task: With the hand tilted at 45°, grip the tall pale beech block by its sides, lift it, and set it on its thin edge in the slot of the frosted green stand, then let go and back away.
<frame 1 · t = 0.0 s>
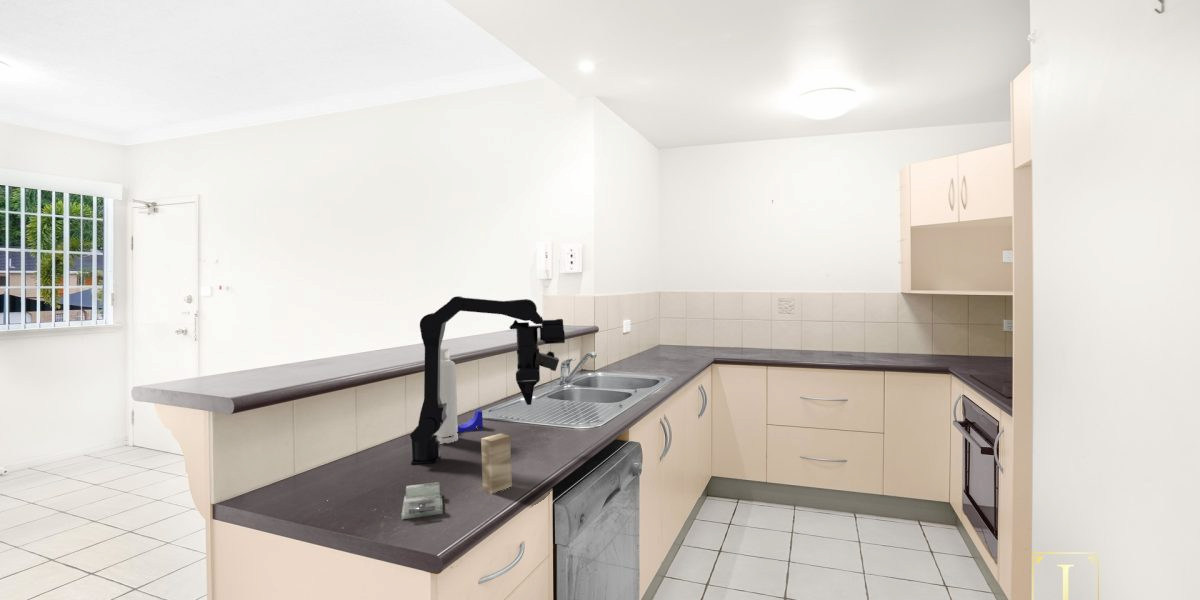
hand: (529, 401, 153), 15 cm above the counter, tool pointing down, fingers open, 9 cm apart
beech block: (497, 488, 128), on the counter
frosted green stand: (422, 506, 119), on the counter
bottle: (444, 440, 169), on the counter
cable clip: (462, 431, 181), on the counter
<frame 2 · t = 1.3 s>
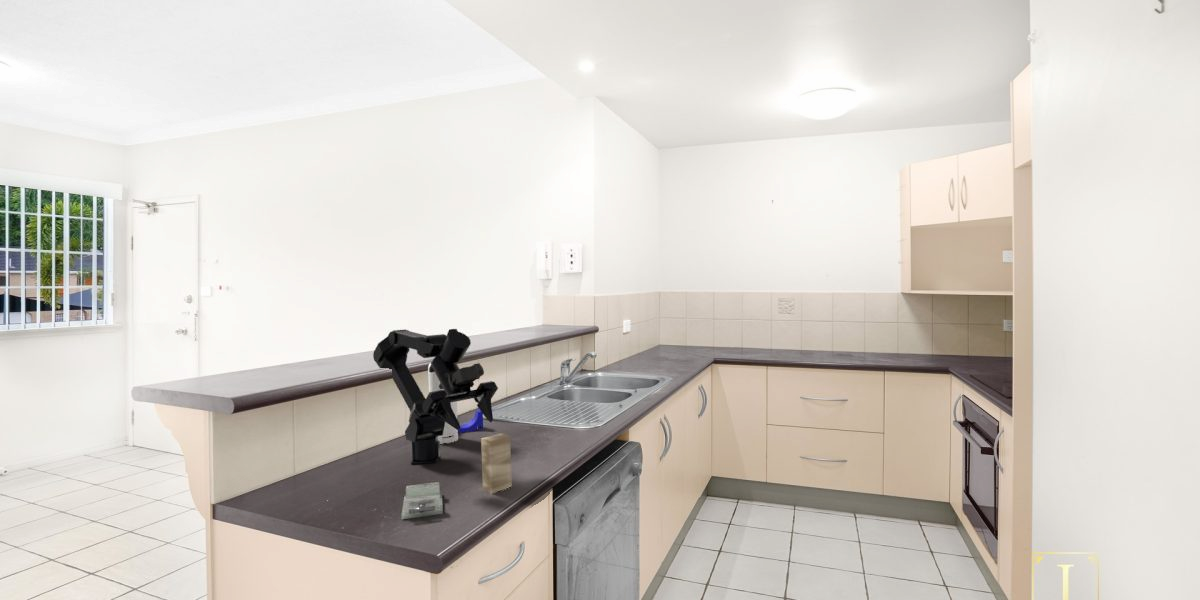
hand: (475, 424, 133), 13 cm above the counter, tool tilted 45°, fingers open, 9 cm apart
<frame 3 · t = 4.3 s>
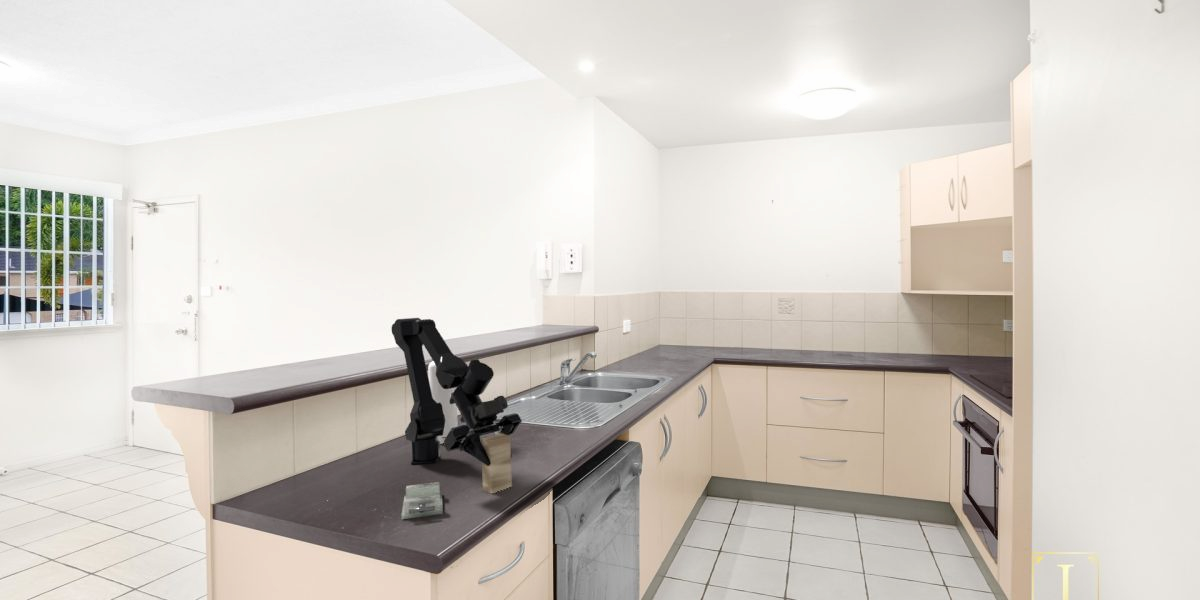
hand: (500, 461, 127), 7 cm above the counter, tool tilted 45°, fingers closed on beech block, 5 cm apart
beech block: (497, 488, 128), on the counter, touching gripper
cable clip: (464, 432, 179), on the counter
everything else where it was.
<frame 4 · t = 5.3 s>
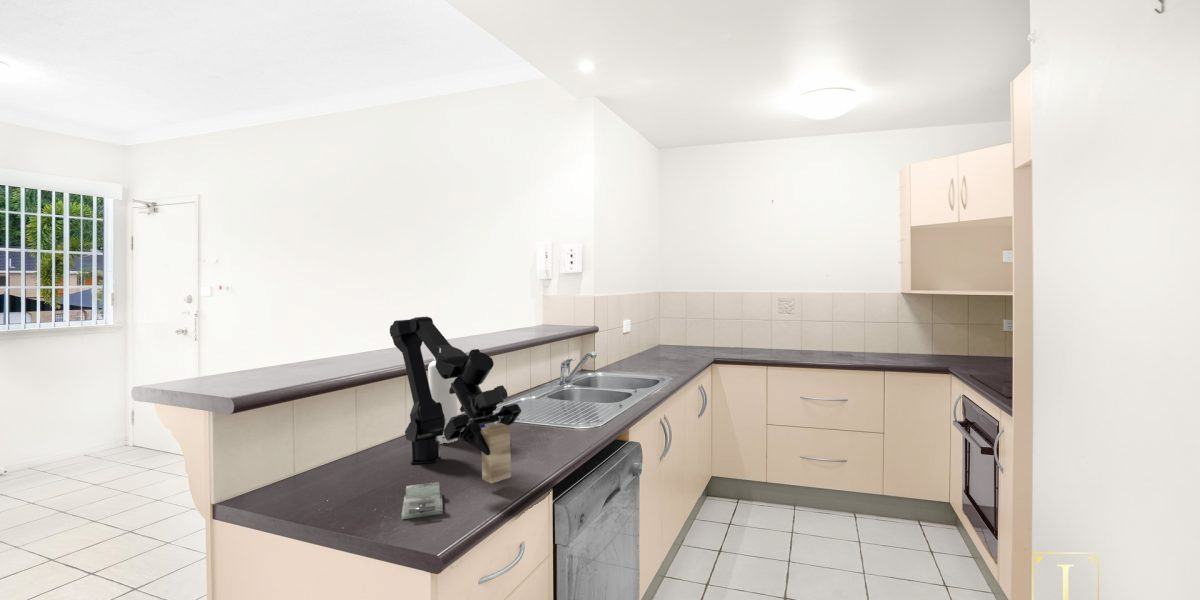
hand: (499, 451, 127), 9 cm above the counter, tool tilted 45°, fingers closed on beech block, 5 cm apart
beech block: (496, 478, 128), point 2 cm above the counter, touching gripper
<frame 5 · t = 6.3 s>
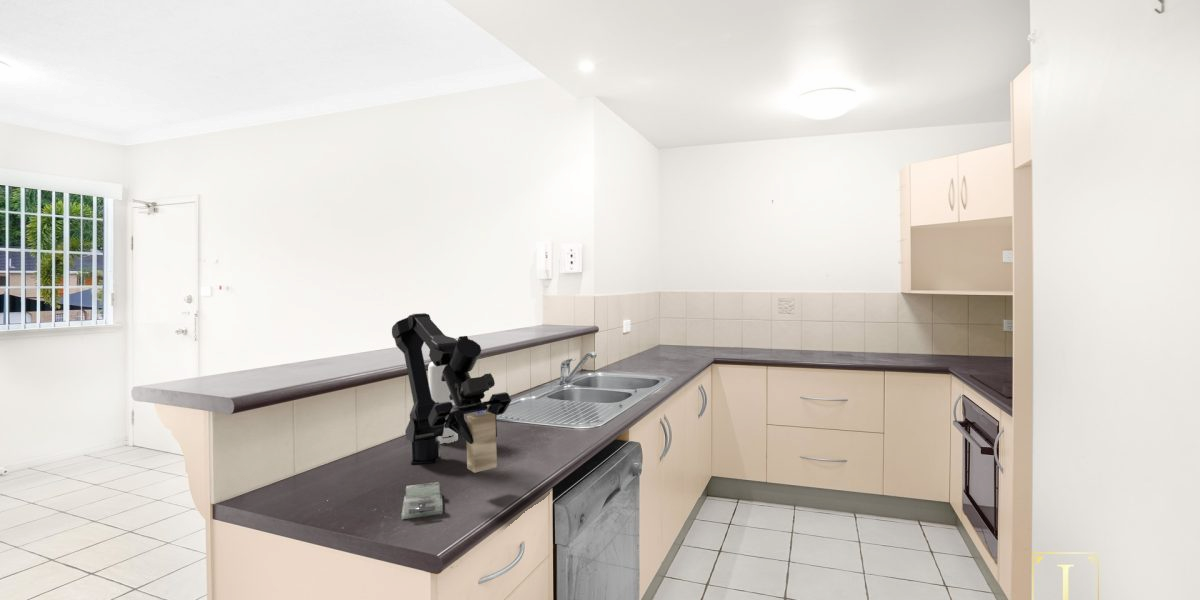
hand: (484, 440, 124), 12 cm above the counter, tool tilted 45°, fingers closed on beech block, 5 cm apart
beech block: (482, 467, 125), point 6 cm above the counter, touching gripper
when the fingers open (8 cm above the counter, at t = 8.6 s): beech block drops 1 cm, resting on frosted green stand.
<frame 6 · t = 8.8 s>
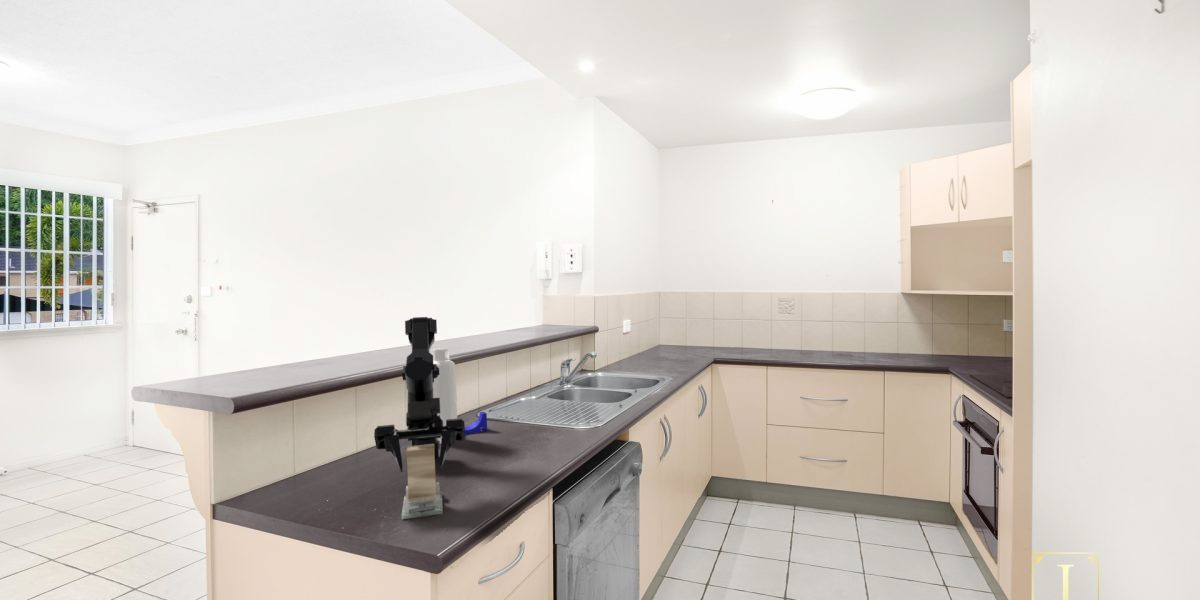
hand: (421, 468, 117), 9 cm above the counter, tool tilted 45°, fingers open, 8 cm apart
beech block: (422, 502, 118), point 1 cm above the counter, touching frosted green stand
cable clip: (467, 433, 178), on the counter
everything else where it was.
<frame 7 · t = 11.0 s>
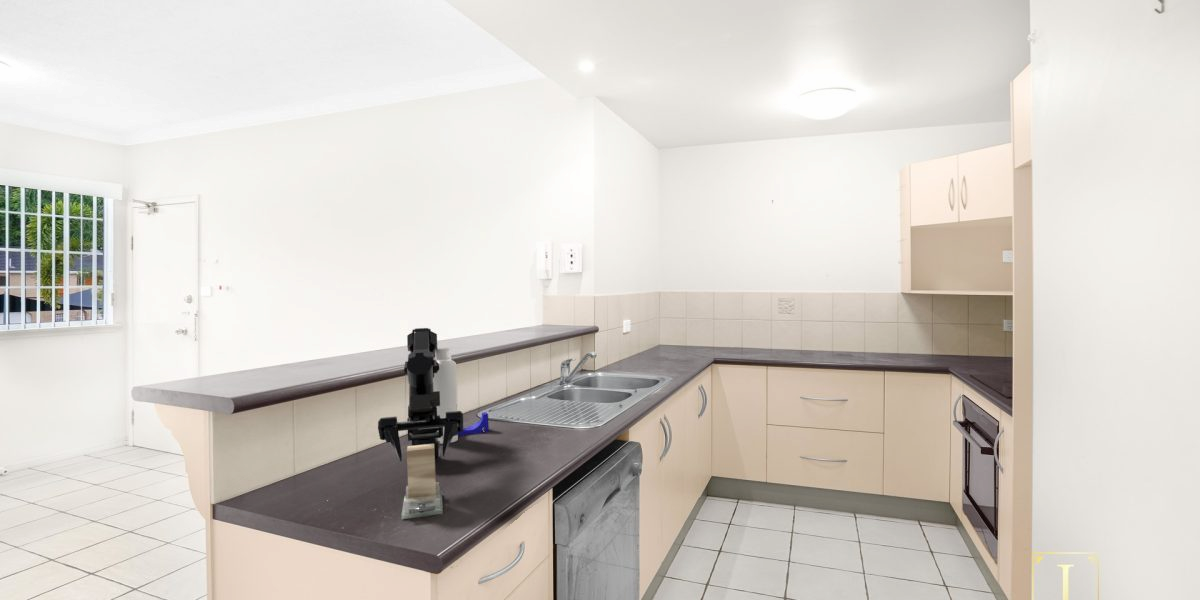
hand: (422, 458, 124), 9 cm above the counter, tool tilted 45°, fingers open, 9 cm apart
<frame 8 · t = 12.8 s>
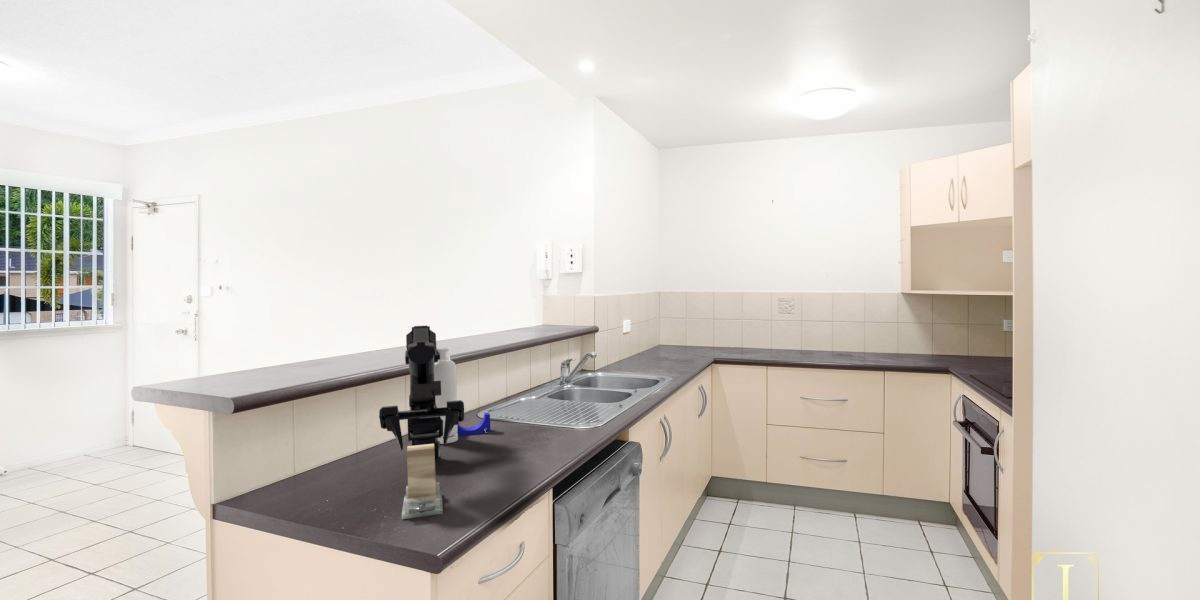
hand: (423, 447, 125), 11 cm above the counter, tool tilted 45°, fingers open, 9 cm apart
bottle: (444, 441, 169), on the counter, touching arm
at the end: beech block 0.0 cm off-centre on the frosted green stand, point 0.8 cm above the frosted green stand's base; beech block tilted 0°; the gripper is holding nothing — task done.
